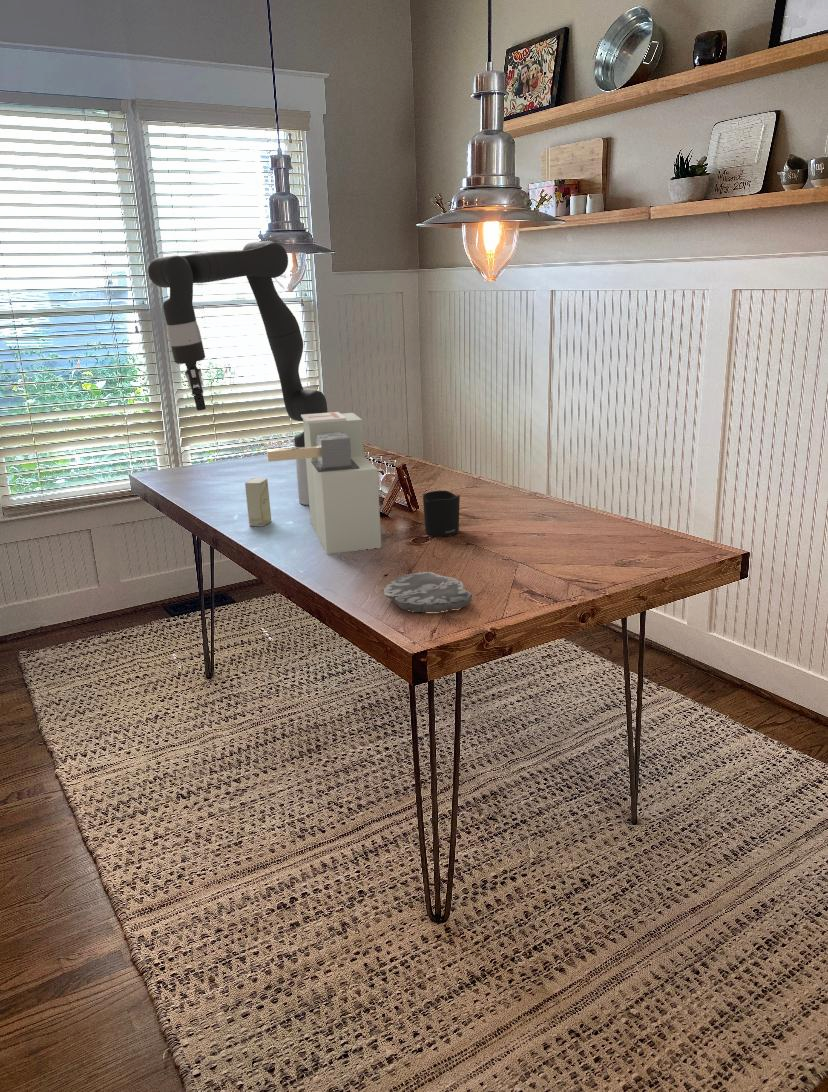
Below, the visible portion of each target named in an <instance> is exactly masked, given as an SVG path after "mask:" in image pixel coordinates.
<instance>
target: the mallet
mask: <svg viewBox="0 0 828 1092" xmlns="http://www.w3.org/2000/svg"><path fill="white" fill-rule="evenodd" d="M315 436H316V446H308V447H296V448H295V447H288V448H287V447H286V448H285V447H284V448H276V449H275V448H272V449H266V460H267V462H279V461H290V460H291V461H292V460H296V459H305V458H317V462H318V463H319V465H320V466H321V467H322V469H332V468H343V467H352V464H351V447H350V438H349V437H348V436H347V435H346V434H345V433H344V432H335V433H322V434H315Z"/></svg>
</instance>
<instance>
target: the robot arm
mask: <svg viewBox="0 0 828 1092" xmlns="http://www.w3.org/2000/svg"><path fill="white" fill-rule="evenodd" d="M288 266H289V255H288V253H287V251H286V248H285V247H284V246H283V245H282V244H280V243H278V242H275V241H269V240H267V241H266V240H265V241H253V242H248V243H246V244H245V245H244V246H243V249H242V250H224V251H223V250H222V251H221V250H220V251H219V250H217V251H216V250H215V251H214V250H213V251H205V252H194V253H190V254H187V255H179V254H177V255H175V254H173V255H167V256H159V257H156V258H154V259H153V260H152V261H151V262H150V263H149V265H148V269H147V271H148V272H147V274H148V277H149V280H151V282H152V283H153V284H154V285H156V286H157V287H160V288H164V289H165V288H169V298H167V299H165V300H164V301H163V304H162V307H163V308H162V309H163V313H164V318H165V323H166V325H167V326H166V327H167V335H168V340H169V343H170V344H169V345H170V347H171V354H172V357H173V361H174V363H175V364H177V365H183V364H184V365H185V367H186V368H185V369H183V370H184V371H183V372H184V377H185V378H186V380H187V384H188V388H189V389H191V394H192V396H193V399H194V403H195V407H196V410H197V411H199V412H200V411H203V410H204V411H205V410H206V408H207V407H206V402H205V399H204V389H203V386H204V383H203V378H202V375H203V374H202V370H201V366H197V362H200V361H203V360H205V358H206V355H205V349H204V345H203V340H202V336H201V331H200V327H199V325H198V322H197V318H196V313H195V309H194V305H193V297H194V296H193V295H194V287H193V286H194V284H204V283H205V284H206V283H212V282H218V281H225V280H229V279H234V278H235V279H236V278H241V277H246V279H247V281H248V282H247V283H249V286H250V289H251V292H252V293H253V296H254V298H255V301H256V304H257V307H258V311H259V313H260V316H261V319H262V324H263V326H264V329H265V333H266V334H265V335H266V336H267V337H266V338H267V340H268V343H269V346H270V351H271V353H272V357H273V359H274V362H275V367H276V369H277V370H276V371H277V373H278V378H279V382H280V387H281V393H282V397H283V403H284V407H285V410H286V413H287V415H288V417H289V418H290V419H291V420H293V421H295V422H296V421H297V422H302V423H303V418H302V417H301V415H303V414H316V413H328V403H327V399H326V396H325V394H324V392H322V391H320V390H315V389H305V388H304V387H303V384H302V382H301V377H300V372H299V371H300V363H301V360H302V355H303V351H304V339H303V336H302V332H301V329H300V326H299V322H298V320H297V317H296V316H295V315H294V313H293V312H292V311H291V309H290V308H289V307H288V305H287V304H286V303H285V302H284V301H283V299H282V297H280V294H279V293H278V291H277V289H276V288H275V285H274V281H273V279H275V278H279V277H280V276H282V275H283V274H284V273H285V272H286V271H287V269H288ZM293 441H294V448H296V447H305V440H304V431H303V432H301V433H298V434H296V435H294V440H293ZM295 466H296V467H295V468H296V477H297V478H296V479H297V493H298V503H299V504H301V505H304V506H306V505H307V506H309V494H308V481H307V467H306V458H305V459H295Z"/></svg>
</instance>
